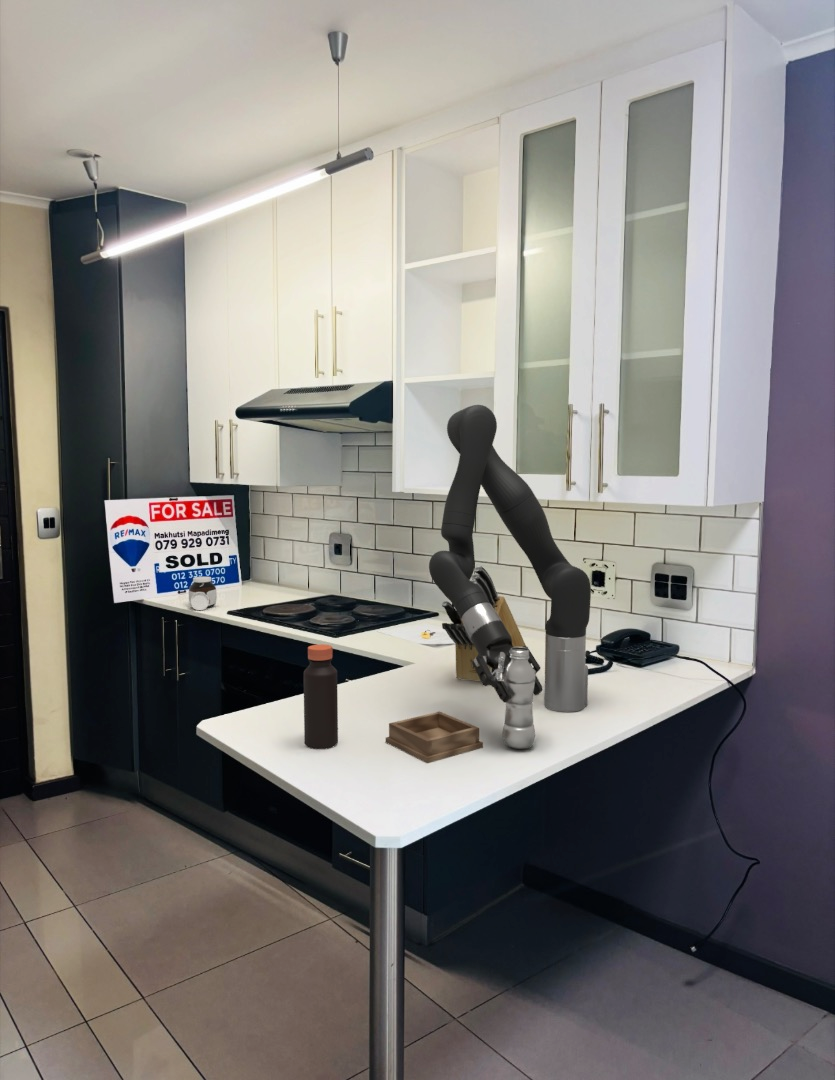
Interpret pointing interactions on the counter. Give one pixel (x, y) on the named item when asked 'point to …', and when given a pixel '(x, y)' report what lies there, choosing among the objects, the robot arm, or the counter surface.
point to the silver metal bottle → (519, 700)
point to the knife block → (460, 636)
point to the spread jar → (202, 593)
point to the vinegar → (320, 699)
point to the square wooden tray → (434, 736)
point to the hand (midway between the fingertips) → (524, 696)
